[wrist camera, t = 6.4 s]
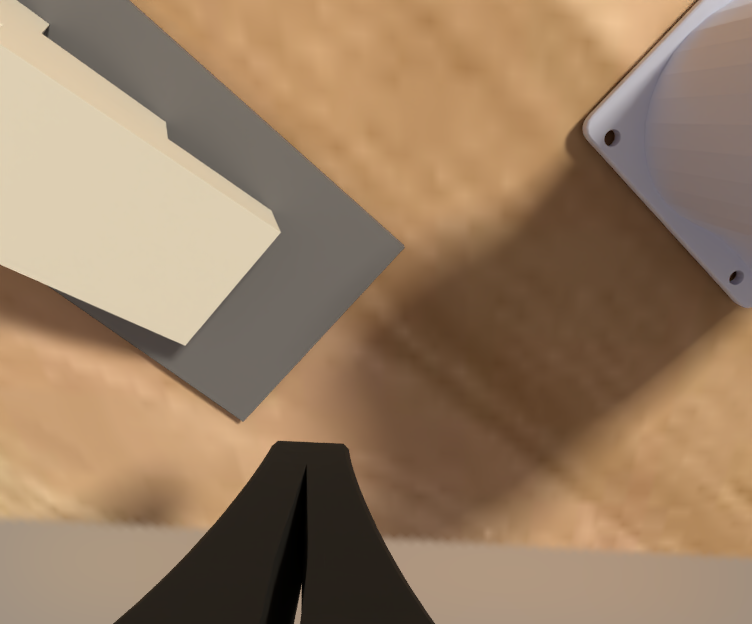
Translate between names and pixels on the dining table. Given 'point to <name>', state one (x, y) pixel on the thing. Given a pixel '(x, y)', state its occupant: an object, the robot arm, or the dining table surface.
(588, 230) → the dining table surface
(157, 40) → the runner mat
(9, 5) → the domino
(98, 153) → the domino
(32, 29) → the domino
